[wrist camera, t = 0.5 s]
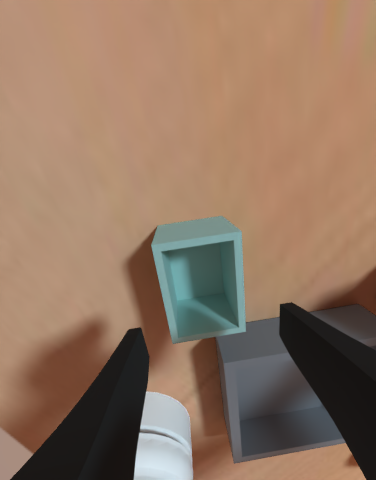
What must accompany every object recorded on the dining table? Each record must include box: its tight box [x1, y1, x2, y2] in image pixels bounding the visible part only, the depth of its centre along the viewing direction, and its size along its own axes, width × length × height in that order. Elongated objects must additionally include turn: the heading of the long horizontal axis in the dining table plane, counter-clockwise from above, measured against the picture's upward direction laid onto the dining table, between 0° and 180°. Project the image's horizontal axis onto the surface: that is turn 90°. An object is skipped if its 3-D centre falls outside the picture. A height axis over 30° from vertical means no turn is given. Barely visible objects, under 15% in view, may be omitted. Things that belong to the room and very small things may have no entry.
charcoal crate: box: [215, 304, 376, 463], centre depth 21 cm, size 16×16×4 cm
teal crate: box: [151, 216, 246, 344], centre depth 15 cm, size 6×8×5 cm
